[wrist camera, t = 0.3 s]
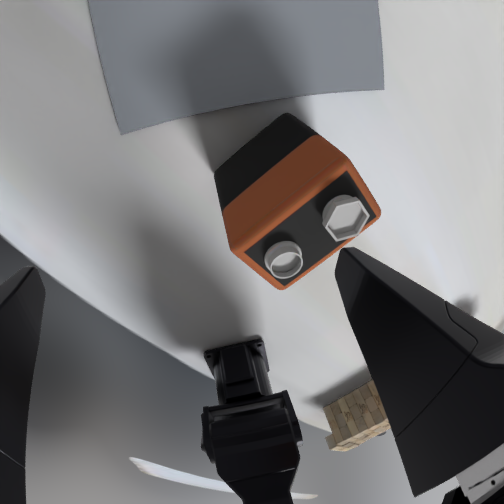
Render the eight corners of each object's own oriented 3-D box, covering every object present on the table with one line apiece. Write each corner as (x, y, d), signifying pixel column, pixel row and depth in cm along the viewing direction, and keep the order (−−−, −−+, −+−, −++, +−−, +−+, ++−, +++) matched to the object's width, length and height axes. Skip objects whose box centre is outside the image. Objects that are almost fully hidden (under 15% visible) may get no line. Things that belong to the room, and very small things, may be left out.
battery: (321, 153, 22) (396, 226, 14) (250, 211, 24) (286, 308, 16) (286, 108, 20) (357, 161, 12) (210, 172, 22) (228, 263, 14)
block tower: (458, 311, 43) (313, 411, 49) (487, 349, 36) (329, 452, 43) (462, 329, 47) (332, 418, 54) (486, 363, 40) (347, 455, 47)
